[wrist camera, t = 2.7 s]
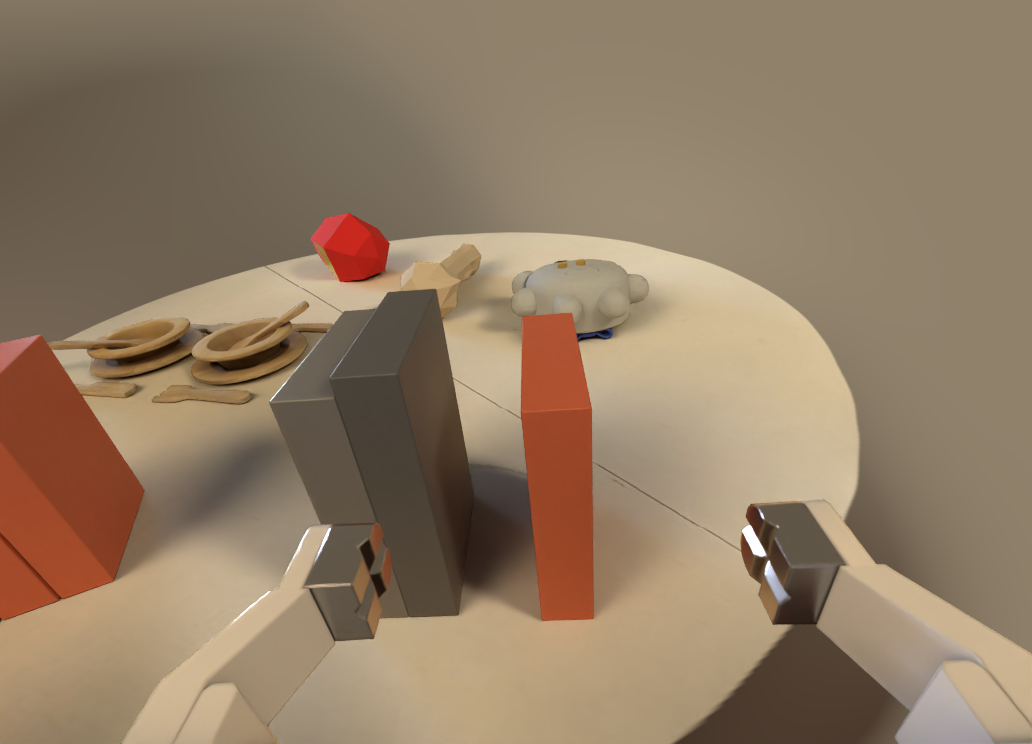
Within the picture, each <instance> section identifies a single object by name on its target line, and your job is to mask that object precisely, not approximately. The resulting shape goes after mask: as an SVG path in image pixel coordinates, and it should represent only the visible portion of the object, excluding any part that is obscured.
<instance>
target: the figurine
mask: <svg viewBox="0 0 1032 744" xmlns="http://www.w3.org/2000/svg"><path fill="white" fill-rule="evenodd" d="M512 291H513V294H514V295H513V297H512V300H511V306H512V309H513V311H514V312H515V313H516V314H517V315H518V316H521V317H523V316H533V315H547V314H560V313H572V315H573V320H574V325H575V330H576V335H577V339H578V340H579V339H580V338H581V337H583V338H584V337H592V336H595V335H596V334H597V335H599V336H601V337H603V338H610V337H611V336H612V335H613V332H612V330H611V328H612V327H615V326H617V325H619V324H621V323H623V322H624V321H625V320H626V319H627V318H628V317H629V315H630V304H632V303H637V302H640V301H642V300H643V299H644V298H645V297H646V296H647V294H648V291H649V285H648V282H647V280H646V279H645V278H643V277H642V276H639V275H635V274H627V272H626V271H625V270H624V269H623V268H622V267H621V266H619V265H617V264H616V263H614V262H610V261H603V260H594V259H586V260H584V259H580V260H573V261H558V262H555V263H554V264H550V265H546V266H543V267H541V268H539V269H537V270H535V271H524V272H522V273H520V274H518V275H517V276H516V277H515V278H514V280H513V282H512ZM601 330H606V331H604V332H600V331H601Z"/></svg>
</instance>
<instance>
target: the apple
mask: <svg viewBox="0 0 1032 744" xmlns="http://www.w3.org/2000/svg"><path fill="white" fill-rule="evenodd" d="M311 241H312V242H313V244H314V246H315V248H316V250H317V252H318V254H319V256H320V257H321V259H322V261H323V262H324V263H325V264H326V265H327V267H328V268H329V269H330V270H331V271H332V273H333V274H334V275H335V276H336V277H337V278H338V280H339V281H340V282H341V281H351V280H360V279H365V278H367V277H370V276H372V275H375V274H377V273H380V272H383V271H385V267H386V261H387V256H388V250H389V242H388V241H387V240H386V238H385V237H384V236H383V235H382V233H381V232H380V231H379V230H378V229H377V228H375V227H373V226H372V225H370V224H368V223H366V222H364V221H362V220H360V219H359V218H357V217H355V216H353V215H351V214H350V213H346V214H342V215H338V216H333V217H328V218H326V219H325V220H324V222H323V223H322V224H321V226H320V227H319V229H318V230H317V231H316V232H315V234H314V235H313V236H312V238H311Z"/></svg>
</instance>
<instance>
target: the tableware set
mask: <svg viewBox="0 0 1032 744" xmlns="http://www.w3.org/2000/svg"><path fill="white" fill-rule="evenodd" d="M308 307H309V304H308V303H307V302H306V301H303V302H301V303H299V304H298V305H296V306H295V307H294V308H292V309H291V310H289V311H288V312H286V313H285V314H284V315H282V316H281V317H279V318H261V319H254V320H249V321H245V322H241V323H237V324H232V323H223V324H217V325H210V326H209V325H195V324H190V322H189V321H188V319H185V318H182V317H164V318H157V319H151V320H147V321H142V322H139V323H136V324H132V325H129V326H126V327H122V328H120V329H117V330H114V331H112V332H110V333H108V334H106V335H104V336H102V337H100V338H98V339H97V340H95V341H54V342H49V343H48V346H49V347H50V349H53V350H62V349H87V348H88V349H87V353H88V354H89V356H90V357H92V358H95V359H94V360H93V361H92V363H91V365H90V367H89V371H90V372H91V373H92V374H93V375H94V376H97V377H102V378H119V377H126V376H132V375H136V374H141V373H145V372H149V371H152V370H155V369H158V368H161V367H163V366H166V365H169V364H171V363H173V362H175V361H177V360H179V359H181V358H183V357H185V356H186V355H188V354H190V353H192V355H193V356H194V357H195V358H196V359H198V360H197V361H196V362H195V363H194V364H193V366H192V369H191V373H192V375H193V377H194V378H195V379H196V380H197V381H199V382H201V383H206V384H230V383H236V382H242V381H246V380H250V379H254V378H257V377H260V376H263V375H266V374H269V373H271V372H274V371H276V370H278V369H280V368H282V367H284V366H286V365H288V364H289V363H291V362H292V361H294V360H295V359H296V358H298V357H299V356H300V355H301V354H302V353H303V352H304V350H305V348H306V345H307V341H306V338H305V336H304V335H303V334H301V333H299V331H313V332H328V330H329V329H330V328H331V327H332V325H333V324H291V322H289V321H290V320H291V319H293V318H295V317H296V316H298V315H299V314H301V313H302V312H304V311H305V310H306V309H307V308H308ZM201 332H208V333H209V335H208V336H206V337H204V336H203V334H202V333H201ZM74 385H75V386H76V388H77V389H78V391H79V392H80V394H81V395H98V396H110V397H122V398H126V397H128V396H130V395H132V394H133V393H135V392H136V390H137V386H136V385H135V384H130V383H116V382H97V383H94V384H91V385H80V384H74ZM166 390H167V391H163V392H162V393H160V396H155V397H154V398H153V399H152V401H153V402H177V401H181V400H185V399H196V400H207V401H216V402H225V403H234V404H242V403H245V402H247V401H249V400H250V399H251V393H250V392H249V391H243V390H207V389H193V388H192V387H191V386H189V385H171V386H170V387H169V388H167V389H166Z"/></svg>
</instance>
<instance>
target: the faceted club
mask: <svg viewBox="0 0 1032 744" xmlns="http://www.w3.org/2000/svg"><path fill="white" fill-rule="evenodd" d="M480 260H481V254H480V253H479V251H478V250H477V249H476V247H475V246H474V245H471V244H465V243H463V244H462V245H461V246H460V247H459V248H458V249H456V250H455V251H453V253H452V255H451V256H450V257H448V258H447V259H445V260H444V261H442V262H441V263H440V264H439V263H429V262H415V263H414V264H413V265H412V266H411V267H410V268H409V269H408V270H407V271H406V272H405V273H404V274H403V275H402V276H401V291H411V290H424V289H436V290H437V295H438V300H439V306H440V311H441V317H442V319H443V318H444V317H445V316H446V315H447V314H448V313H449V312H451V311H452V310H453V309H454V308H455V307H456V306H457V288H458V287H459V285H460V283H461V281H463V280H467V279H468V278H469V276H471V275H474V273H475V272H476V271H477V269H478V268H479V264H480Z"/></svg>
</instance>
